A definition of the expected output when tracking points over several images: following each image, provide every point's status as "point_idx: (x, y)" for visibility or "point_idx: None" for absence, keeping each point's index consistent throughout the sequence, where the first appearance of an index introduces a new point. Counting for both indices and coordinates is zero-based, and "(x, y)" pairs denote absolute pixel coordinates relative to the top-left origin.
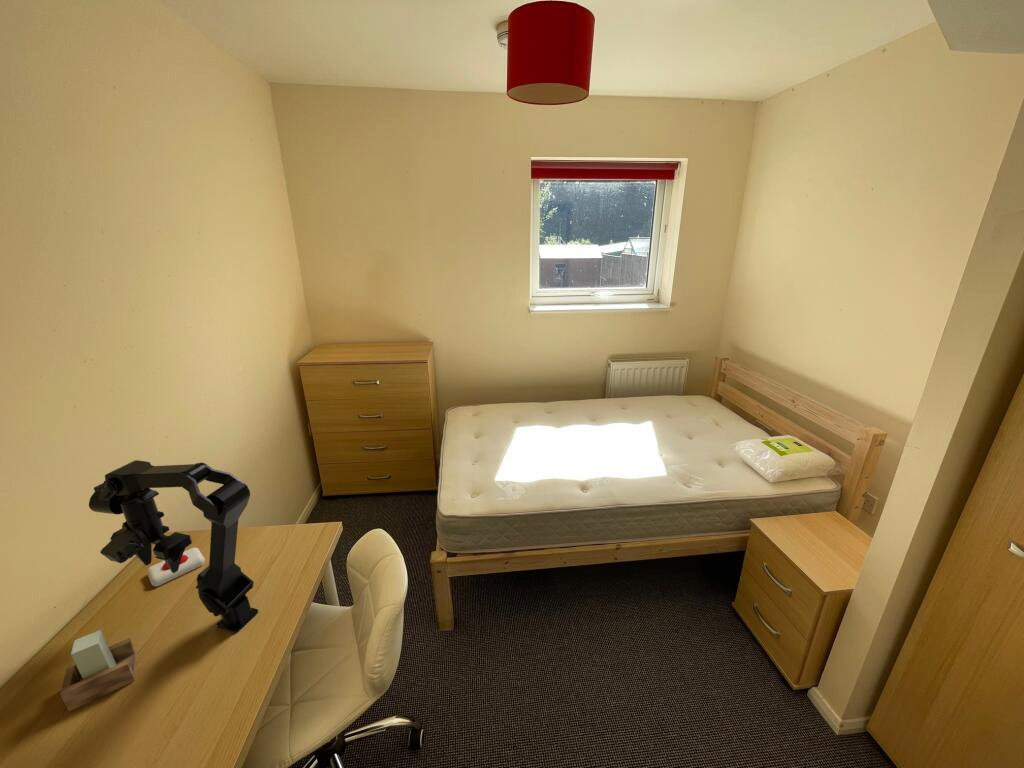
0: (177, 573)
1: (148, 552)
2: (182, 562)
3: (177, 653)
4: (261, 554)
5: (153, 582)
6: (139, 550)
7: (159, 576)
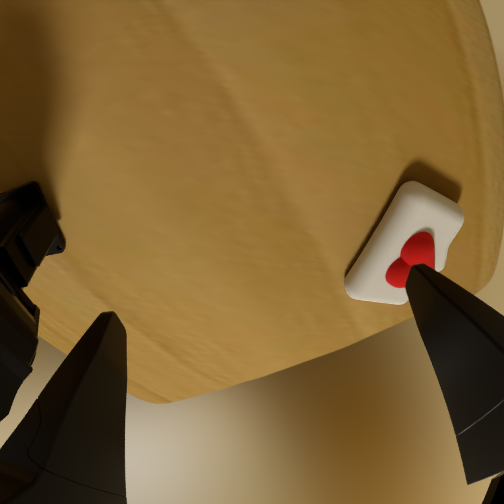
0: (378, 237)
1: (444, 362)
2: (390, 270)
3: (32, 73)
4: (220, 349)
5: (416, 189)
6: (500, 382)
7: (414, 211)
